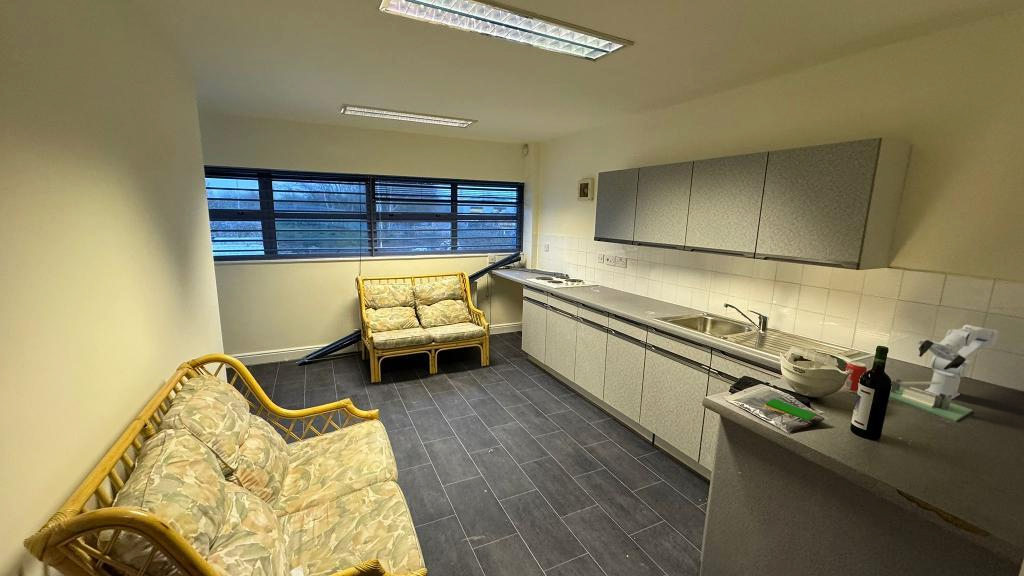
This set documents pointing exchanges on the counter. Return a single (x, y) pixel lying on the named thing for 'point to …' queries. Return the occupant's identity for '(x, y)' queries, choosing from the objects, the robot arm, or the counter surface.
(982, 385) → the counter surface
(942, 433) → the counter surface
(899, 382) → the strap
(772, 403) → the dish sponge
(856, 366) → the beverage can
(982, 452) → the counter surface
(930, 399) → the heatsink board
